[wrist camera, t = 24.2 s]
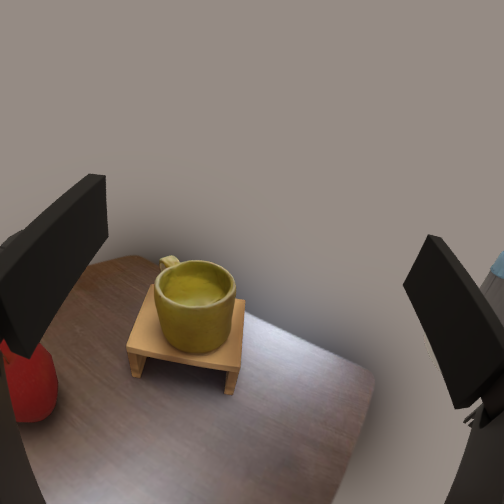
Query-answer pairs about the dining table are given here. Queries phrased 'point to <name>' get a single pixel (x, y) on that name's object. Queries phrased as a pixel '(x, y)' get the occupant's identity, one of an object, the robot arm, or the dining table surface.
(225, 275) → the mug
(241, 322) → the shelf
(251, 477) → the dining table surface
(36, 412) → the apple
